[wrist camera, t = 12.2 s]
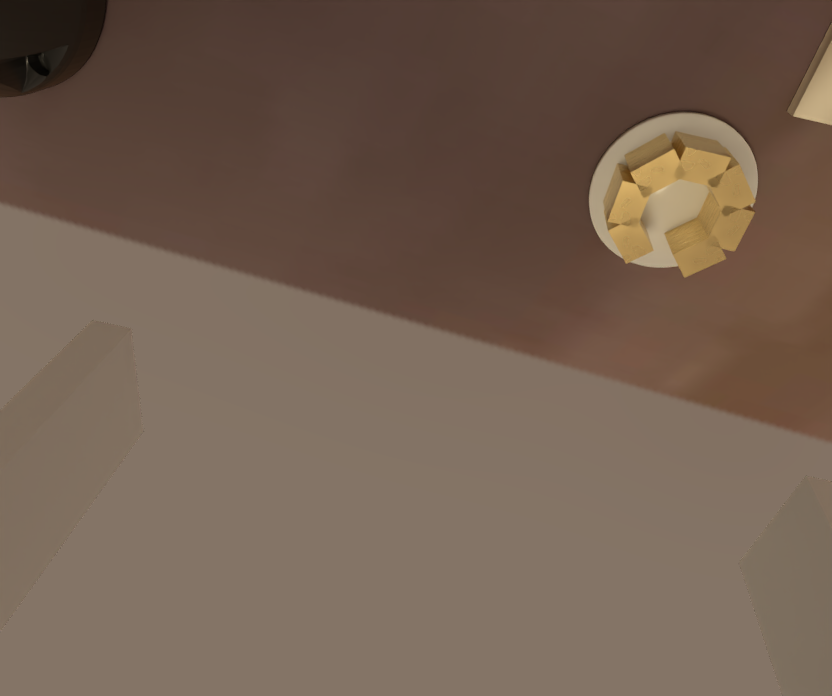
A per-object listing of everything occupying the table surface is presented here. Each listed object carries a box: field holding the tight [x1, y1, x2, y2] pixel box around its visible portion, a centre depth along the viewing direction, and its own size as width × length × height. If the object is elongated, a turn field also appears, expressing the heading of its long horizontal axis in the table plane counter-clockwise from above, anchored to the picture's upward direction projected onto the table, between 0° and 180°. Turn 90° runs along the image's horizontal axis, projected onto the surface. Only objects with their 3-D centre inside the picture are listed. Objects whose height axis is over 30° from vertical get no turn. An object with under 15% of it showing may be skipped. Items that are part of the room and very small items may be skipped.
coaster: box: [589, 111, 758, 268], centre depth 36 cm, size 9×9×1 cm
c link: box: [603, 131, 756, 278], centre depth 35 cm, size 7×7×3 cm
